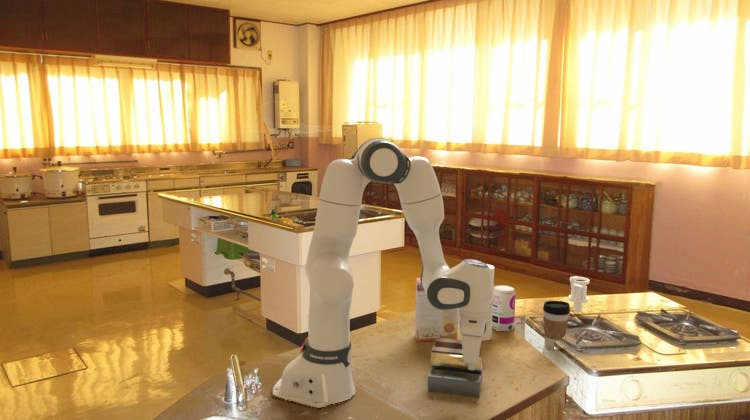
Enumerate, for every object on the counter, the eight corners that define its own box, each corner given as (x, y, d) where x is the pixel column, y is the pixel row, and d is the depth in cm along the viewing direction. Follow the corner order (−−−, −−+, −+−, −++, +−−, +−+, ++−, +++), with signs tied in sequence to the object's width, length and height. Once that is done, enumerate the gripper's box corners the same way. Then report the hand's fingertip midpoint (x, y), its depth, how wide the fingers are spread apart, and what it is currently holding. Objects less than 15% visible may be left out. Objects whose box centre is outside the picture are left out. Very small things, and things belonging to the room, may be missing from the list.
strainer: (564, 311, 213) (566, 274, 211) (579, 309, 215) (582, 273, 213) (574, 317, 207) (577, 279, 204) (590, 316, 208) (593, 278, 206)
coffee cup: (564, 353, 174) (567, 309, 172) (537, 348, 179) (540, 304, 176) (570, 344, 181) (573, 301, 179) (544, 339, 186) (547, 297, 183)
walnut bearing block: (431, 369, 163) (431, 350, 162) (435, 355, 173) (436, 337, 172) (478, 374, 160) (479, 355, 159) (480, 360, 169) (481, 342, 168)
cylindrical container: (491, 341, 183) (494, 270, 179) (470, 339, 185) (472, 268, 181) (491, 333, 190) (494, 264, 186) (470, 332, 192) (473, 263, 188)
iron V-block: (427, 391, 150) (428, 375, 149) (433, 372, 160) (433, 358, 160) (479, 397, 146) (480, 382, 146) (481, 378, 157) (482, 363, 156)
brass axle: (430, 367, 152) (430, 355, 152) (432, 362, 156) (432, 350, 155) (481, 372, 149) (481, 360, 149) (481, 367, 152) (482, 355, 152)
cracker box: (454, 334, 190) (456, 276, 186) (457, 341, 184) (459, 281, 180) (414, 334, 189) (415, 276, 186) (416, 341, 183) (417, 281, 180)
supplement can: (516, 326, 197) (518, 287, 194) (509, 334, 190) (511, 293, 187) (495, 322, 201) (497, 283, 199) (487, 329, 194) (488, 289, 192)
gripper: (465, 304, 160) (464, 349, 162) (459, 330, 140) (457, 380, 142) (487, 306, 158) (485, 351, 160) (483, 332, 139) (481, 383, 141)
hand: (472, 365), depth 151 cm, fingers closed on brass axle, 3 cm apart
